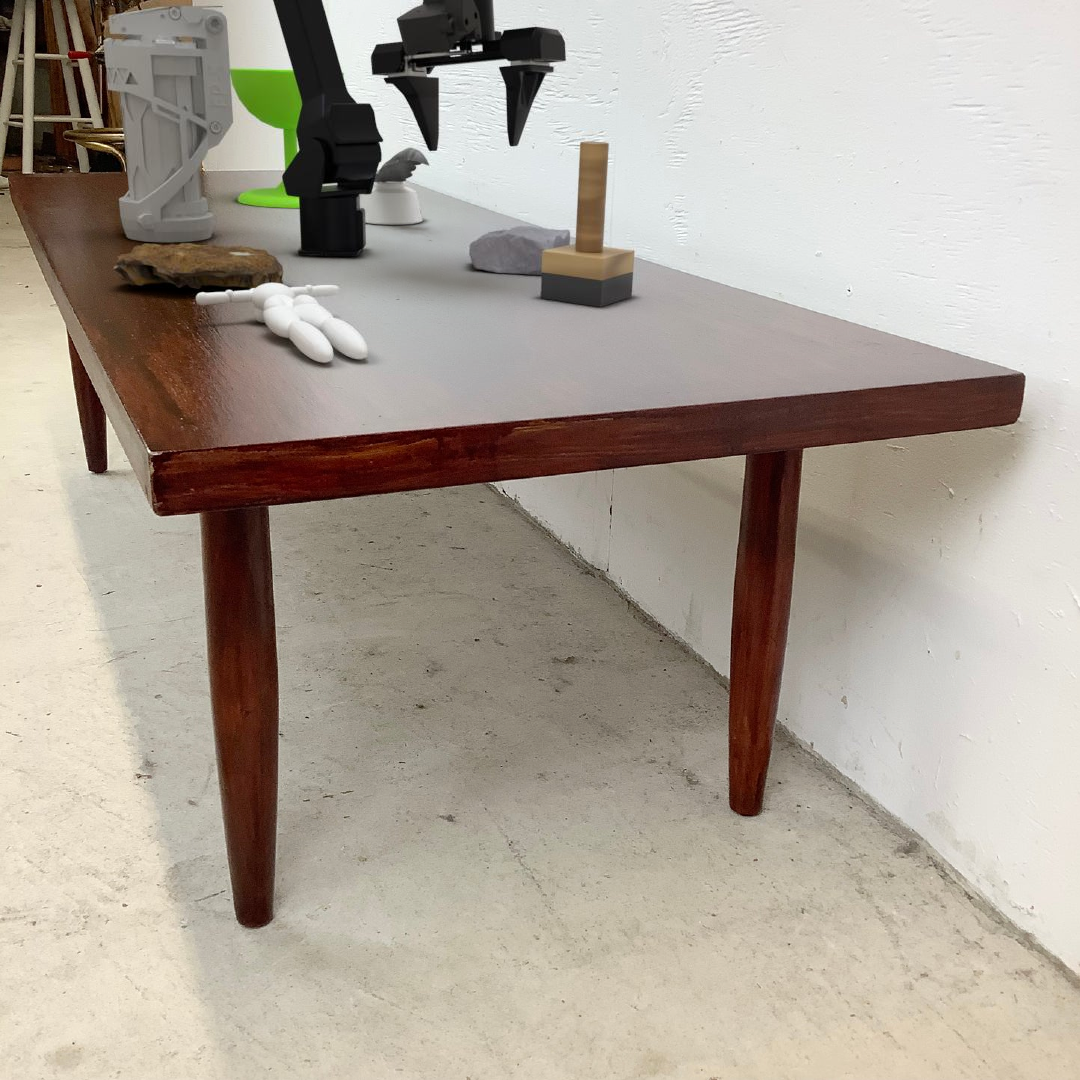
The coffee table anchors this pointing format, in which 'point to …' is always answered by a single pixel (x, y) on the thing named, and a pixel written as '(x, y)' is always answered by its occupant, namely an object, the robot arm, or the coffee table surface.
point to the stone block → (516, 249)
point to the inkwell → (394, 191)
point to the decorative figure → (297, 318)
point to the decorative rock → (198, 266)
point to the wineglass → (271, 121)
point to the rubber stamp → (589, 244)
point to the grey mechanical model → (169, 115)
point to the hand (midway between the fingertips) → (472, 148)
